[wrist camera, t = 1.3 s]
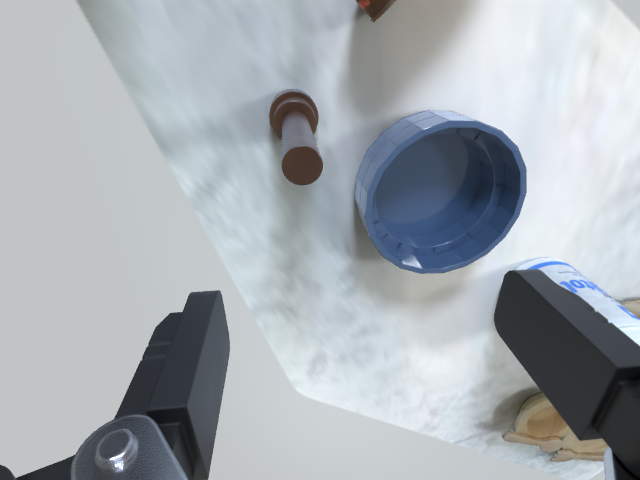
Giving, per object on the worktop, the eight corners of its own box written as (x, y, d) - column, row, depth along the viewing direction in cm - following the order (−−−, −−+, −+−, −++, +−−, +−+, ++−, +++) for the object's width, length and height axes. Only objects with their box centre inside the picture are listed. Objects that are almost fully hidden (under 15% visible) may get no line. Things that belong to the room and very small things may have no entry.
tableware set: (634, 273, 48) (662, 291, 44) (753, 336, 56) (784, 356, 52) (471, 431, 61) (482, 455, 58) (586, 463, 70) (603, 485, 66)
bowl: (349, 246, 42) (359, 275, 36) (360, 108, 34) (374, 119, 29) (474, 244, 43) (501, 271, 38) (510, 110, 36) (549, 121, 31)
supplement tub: (580, 255, 45) (699, 337, 32) (552, 314, 50) (647, 407, 37) (509, 253, 44) (603, 338, 31) (486, 314, 49) (560, 410, 36)
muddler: (270, 137, 35) (262, 204, 20) (269, 88, 33) (258, 122, 18) (316, 137, 35) (341, 203, 20) (317, 89, 33) (345, 124, 18)
